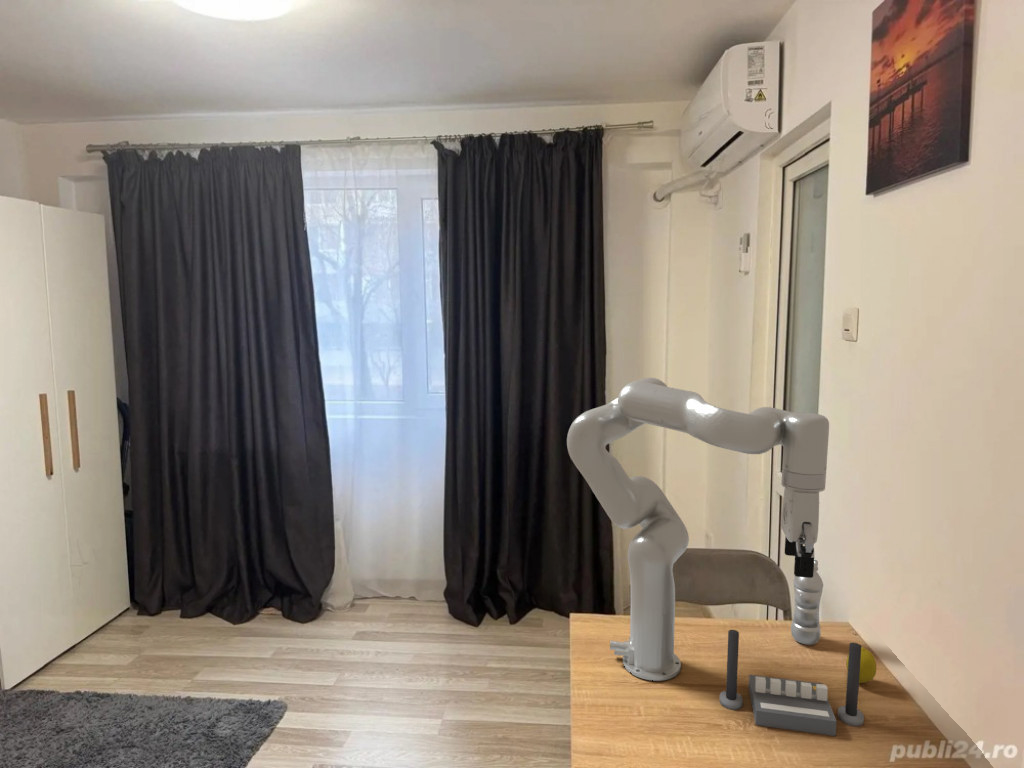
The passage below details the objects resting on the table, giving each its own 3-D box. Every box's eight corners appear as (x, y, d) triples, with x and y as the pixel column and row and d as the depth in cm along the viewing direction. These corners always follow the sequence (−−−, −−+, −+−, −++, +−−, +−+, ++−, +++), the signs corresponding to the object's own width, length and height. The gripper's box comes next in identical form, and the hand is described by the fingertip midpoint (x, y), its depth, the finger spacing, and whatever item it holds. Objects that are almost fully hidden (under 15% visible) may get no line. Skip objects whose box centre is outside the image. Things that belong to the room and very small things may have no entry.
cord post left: (720, 708, 128) (722, 636, 126) (718, 694, 132) (721, 625, 130) (743, 711, 127) (746, 639, 125) (741, 697, 131) (744, 627, 129)
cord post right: (841, 724, 123) (845, 650, 120) (835, 709, 127) (839, 638, 125) (866, 727, 122) (871, 653, 119) (859, 713, 126) (864, 640, 124)
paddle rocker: (755, 692, 127) (755, 679, 127) (754, 689, 128) (754, 676, 128) (827, 701, 124) (828, 688, 124) (826, 698, 125) (826, 685, 125)
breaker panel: (755, 724, 123) (756, 709, 122) (748, 687, 134) (749, 673, 134) (835, 736, 119) (836, 720, 119) (821, 696, 131) (822, 682, 130)
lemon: (879, 692, 132) (881, 656, 131) (849, 689, 133) (852, 653, 132) (869, 676, 138) (872, 641, 136) (842, 673, 139) (844, 639, 138)
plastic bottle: (818, 636, 154) (822, 556, 151) (821, 650, 148) (826, 568, 145) (789, 631, 156) (793, 553, 153) (791, 646, 150) (795, 564, 147)
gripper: (774, 465, 129) (770, 546, 132) (790, 491, 113) (785, 583, 115) (814, 467, 128) (809, 549, 130) (837, 494, 111) (830, 587, 114)
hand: (798, 565), depth 123 cm, fingers open, 9 cm apart
